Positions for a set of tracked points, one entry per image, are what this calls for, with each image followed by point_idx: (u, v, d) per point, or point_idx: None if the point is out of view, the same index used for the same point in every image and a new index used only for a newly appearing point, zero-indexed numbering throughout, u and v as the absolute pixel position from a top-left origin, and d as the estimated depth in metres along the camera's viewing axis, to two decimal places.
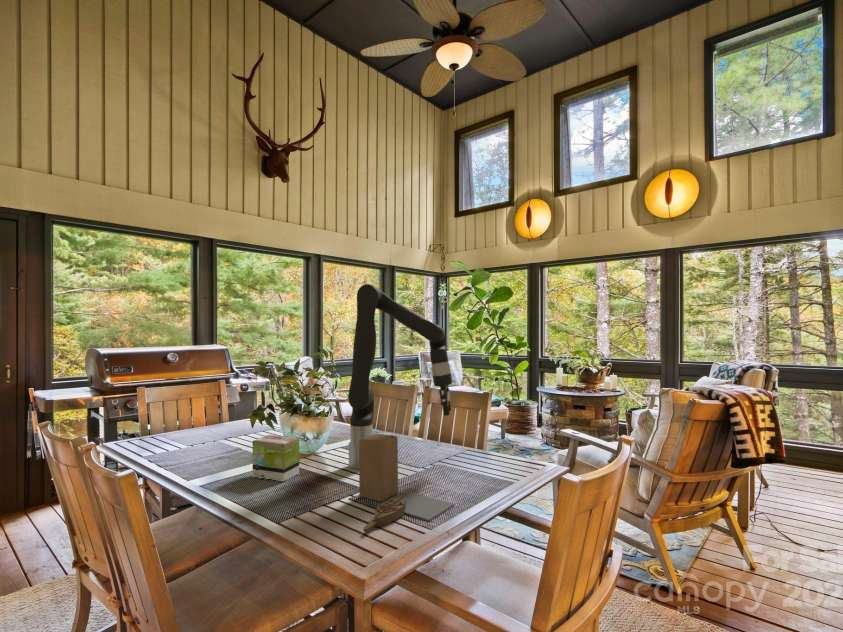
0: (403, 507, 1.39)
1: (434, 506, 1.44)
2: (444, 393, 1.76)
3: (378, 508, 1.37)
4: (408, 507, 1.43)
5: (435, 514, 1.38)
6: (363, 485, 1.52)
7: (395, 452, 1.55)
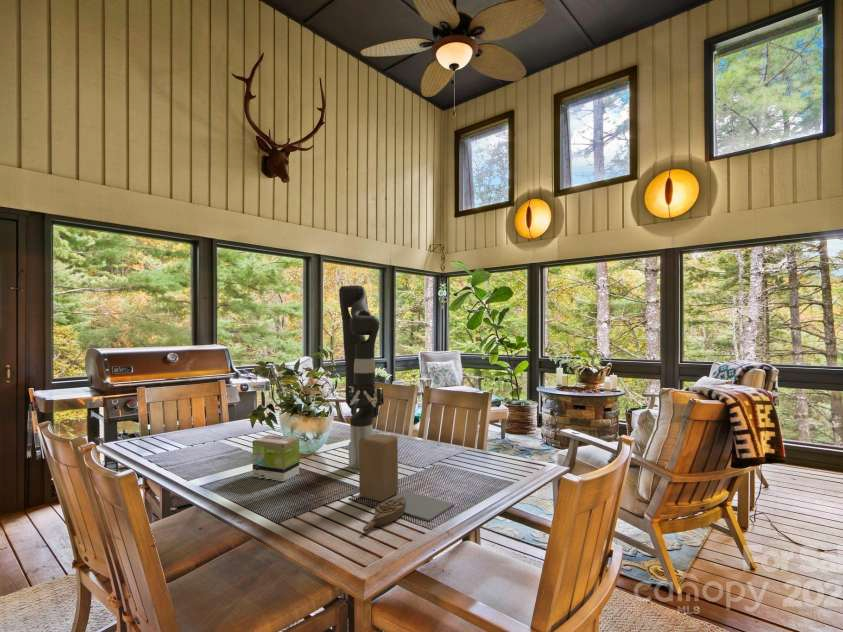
0: (403, 507, 1.39)
1: (434, 506, 1.44)
2: None
3: (378, 508, 1.37)
4: (408, 507, 1.43)
5: (435, 514, 1.38)
6: (363, 485, 1.52)
7: (395, 452, 1.55)
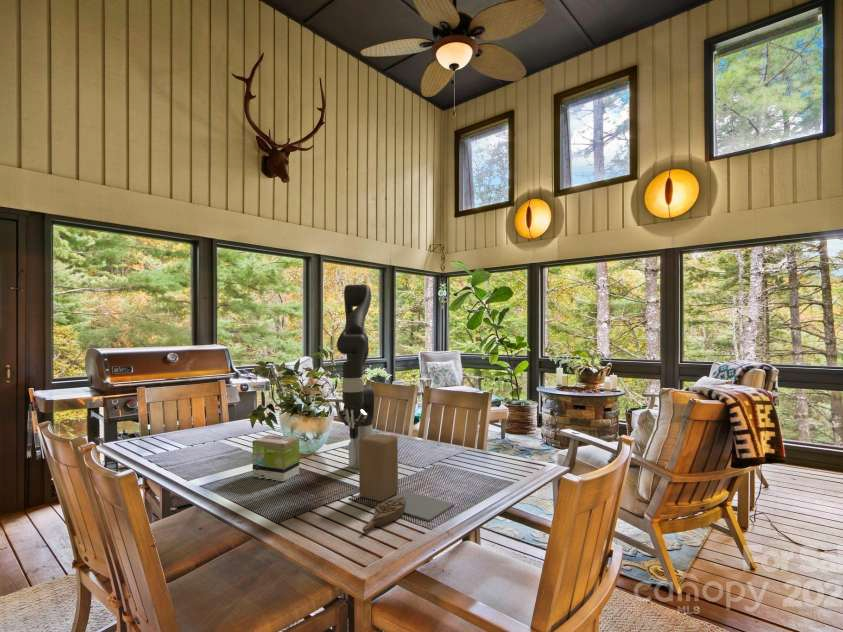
0: (403, 507, 1.39)
1: (434, 506, 1.44)
2: None
3: (378, 508, 1.37)
4: (408, 507, 1.43)
5: (435, 514, 1.38)
6: (363, 485, 1.52)
7: (395, 452, 1.55)
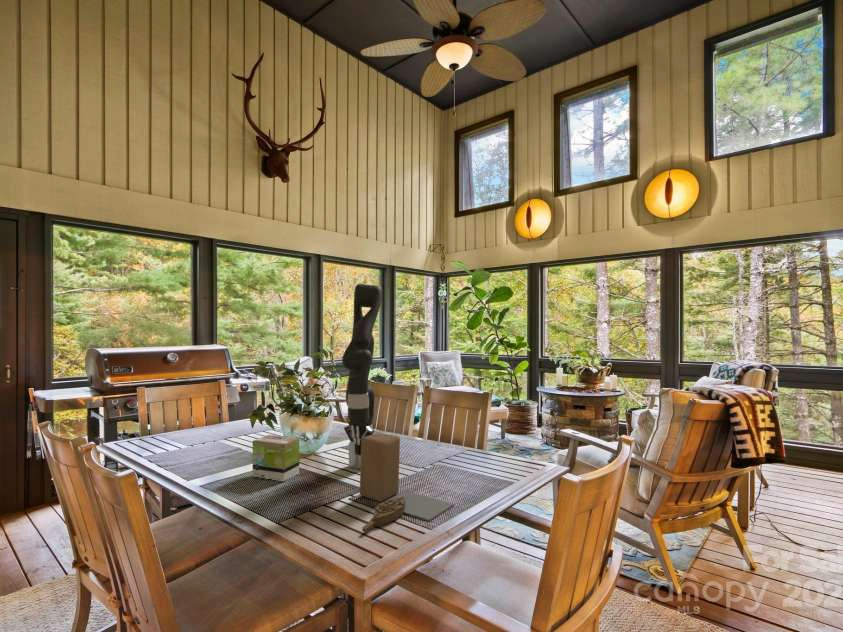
0: (402, 507, 1.39)
1: (434, 506, 1.44)
2: None
3: (377, 508, 1.37)
4: (408, 507, 1.43)
5: (435, 514, 1.38)
6: (364, 484, 1.52)
7: (397, 453, 1.55)
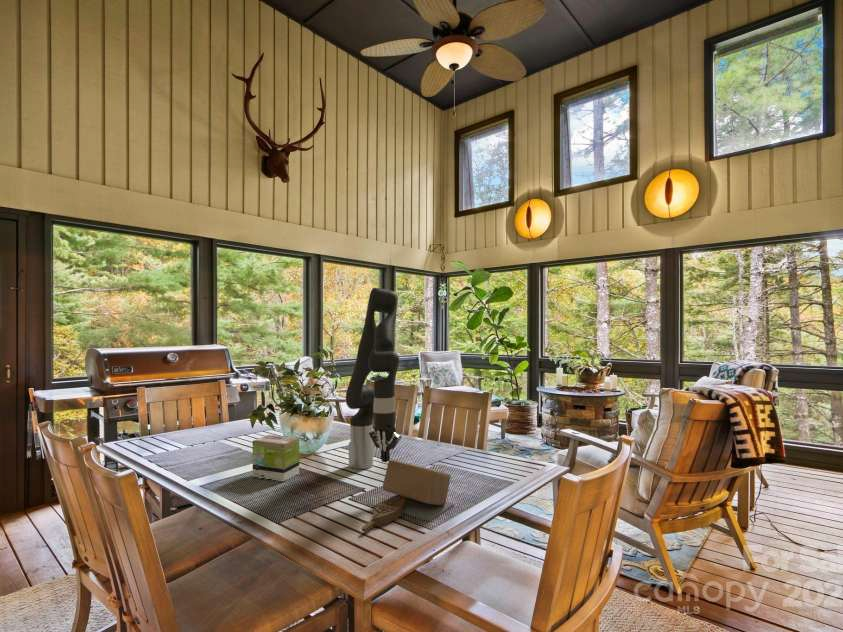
0: (402, 507, 1.39)
1: (434, 506, 1.44)
2: None
3: (377, 508, 1.37)
4: (408, 507, 1.43)
5: (435, 514, 1.38)
6: (396, 468, 1.49)
7: None
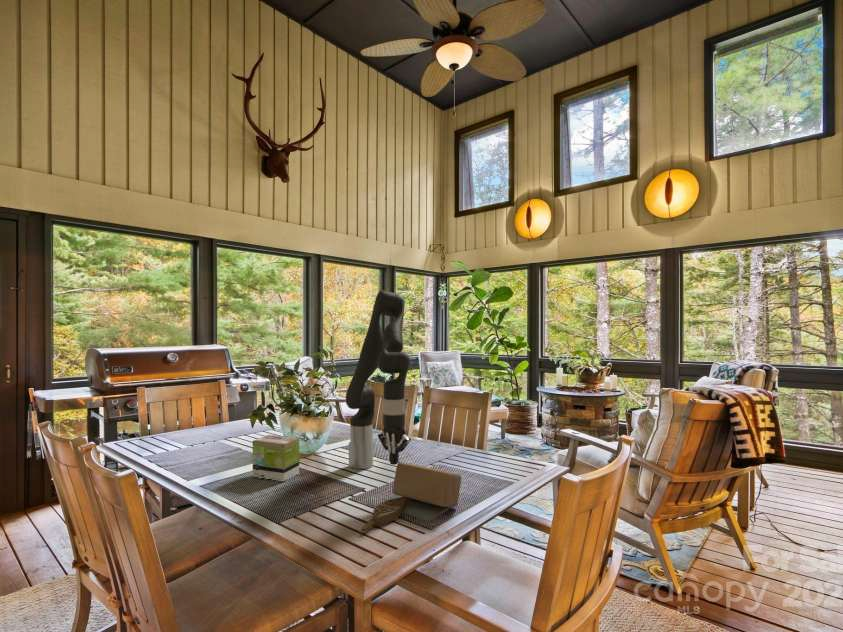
0: (402, 507, 1.39)
1: (434, 506, 1.44)
2: None
3: (377, 508, 1.37)
4: (408, 507, 1.43)
5: (435, 514, 1.38)
6: (406, 471, 1.47)
7: None
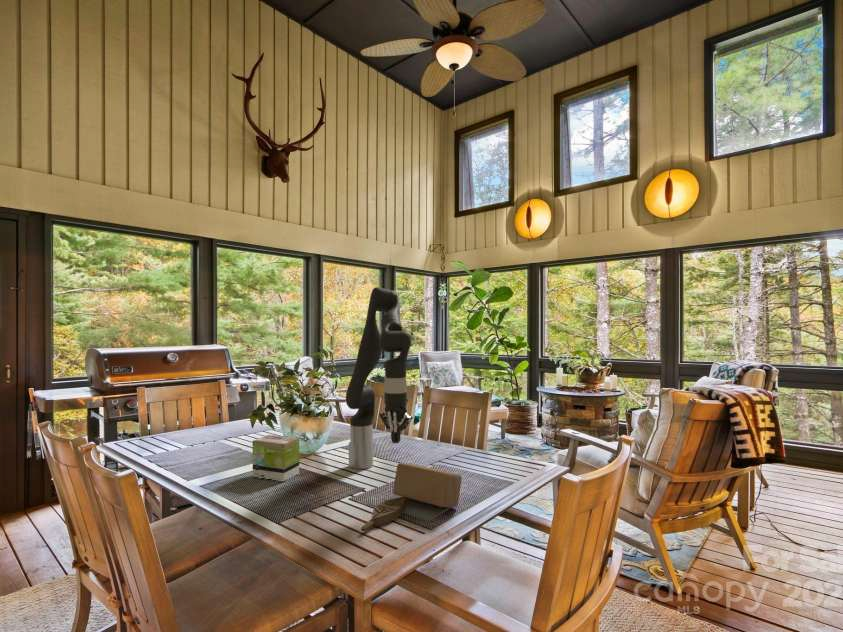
0: (402, 507, 1.39)
1: (434, 506, 1.44)
2: None
3: (377, 508, 1.38)
4: (408, 507, 1.43)
5: (435, 514, 1.38)
6: (406, 471, 1.47)
7: None
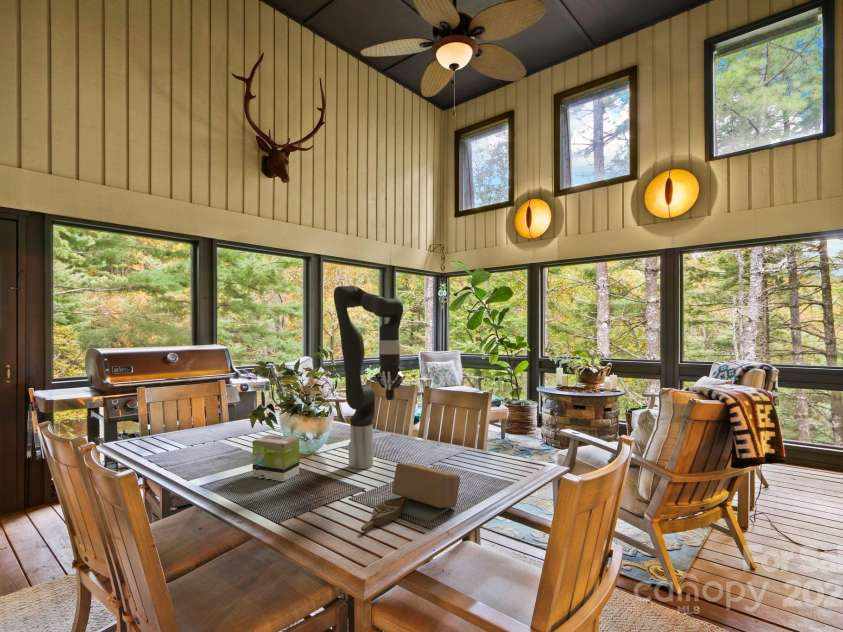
0: (402, 507, 1.39)
1: (434, 506, 1.44)
2: None
3: (376, 508, 1.38)
4: (408, 507, 1.43)
5: (435, 514, 1.38)
6: (405, 471, 1.47)
7: None
